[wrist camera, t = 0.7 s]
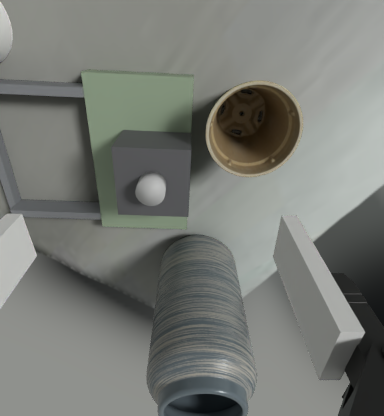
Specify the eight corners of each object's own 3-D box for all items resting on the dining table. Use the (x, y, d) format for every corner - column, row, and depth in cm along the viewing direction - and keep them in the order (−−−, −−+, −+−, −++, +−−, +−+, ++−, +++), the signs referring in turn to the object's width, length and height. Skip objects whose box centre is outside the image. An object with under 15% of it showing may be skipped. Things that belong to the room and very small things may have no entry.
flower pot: (210, 156, 38) (216, 186, 31) (194, 82, 33) (195, 96, 26) (281, 140, 37) (305, 166, 29) (275, 60, 32) (301, 68, 25)
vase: (147, 258, 47) (117, 418, 27) (194, 213, 43) (198, 366, 23) (200, 290, 51) (206, 450, 31) (247, 252, 47) (289, 411, 27)
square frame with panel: (-29, 63, 32) (-115, 74, 23) (193, 74, 33) (194, 89, 24) (18, 213, 42) (-28, 261, 33) (186, 219, 43) (186, 268, 34)
